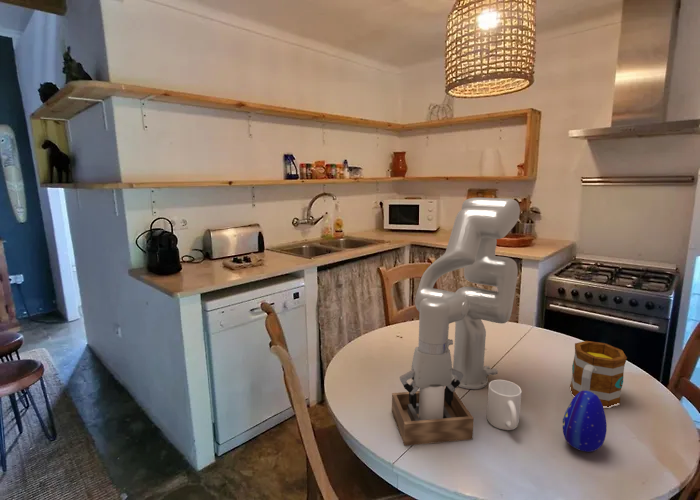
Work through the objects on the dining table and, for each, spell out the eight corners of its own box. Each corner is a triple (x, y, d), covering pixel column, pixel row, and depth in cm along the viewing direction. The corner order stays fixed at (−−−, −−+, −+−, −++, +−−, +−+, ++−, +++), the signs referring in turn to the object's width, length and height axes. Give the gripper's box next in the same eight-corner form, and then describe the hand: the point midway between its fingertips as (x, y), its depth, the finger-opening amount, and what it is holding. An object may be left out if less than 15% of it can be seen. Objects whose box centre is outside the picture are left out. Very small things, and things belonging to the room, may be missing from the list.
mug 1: (529, 441, 99) (533, 404, 97) (496, 440, 99) (499, 404, 97) (511, 412, 110) (514, 379, 108) (482, 412, 111) (484, 379, 109)
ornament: (565, 427, 104) (571, 376, 101) (606, 442, 98) (613, 388, 95) (556, 450, 95) (562, 395, 92) (599, 467, 90) (607, 409, 87)
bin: (451, 407, 113) (452, 388, 112) (472, 439, 99) (473, 418, 98) (391, 412, 111) (392, 393, 110) (404, 445, 97) (404, 424, 96)
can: (443, 430, 101) (445, 388, 99) (418, 427, 103) (419, 386, 100) (442, 415, 108) (444, 376, 105) (418, 412, 109) (420, 373, 106)
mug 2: (576, 379, 128) (581, 337, 125) (625, 395, 118) (631, 350, 115) (555, 404, 114) (560, 357, 111) (609, 424, 105) (616, 374, 102)
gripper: (459, 337, 105) (456, 393, 109) (397, 340, 103) (396, 398, 107) (470, 349, 98) (467, 409, 101) (404, 353, 96) (403, 415, 99)
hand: (430, 404), depth 104 cm, fingers open, 9 cm apart
